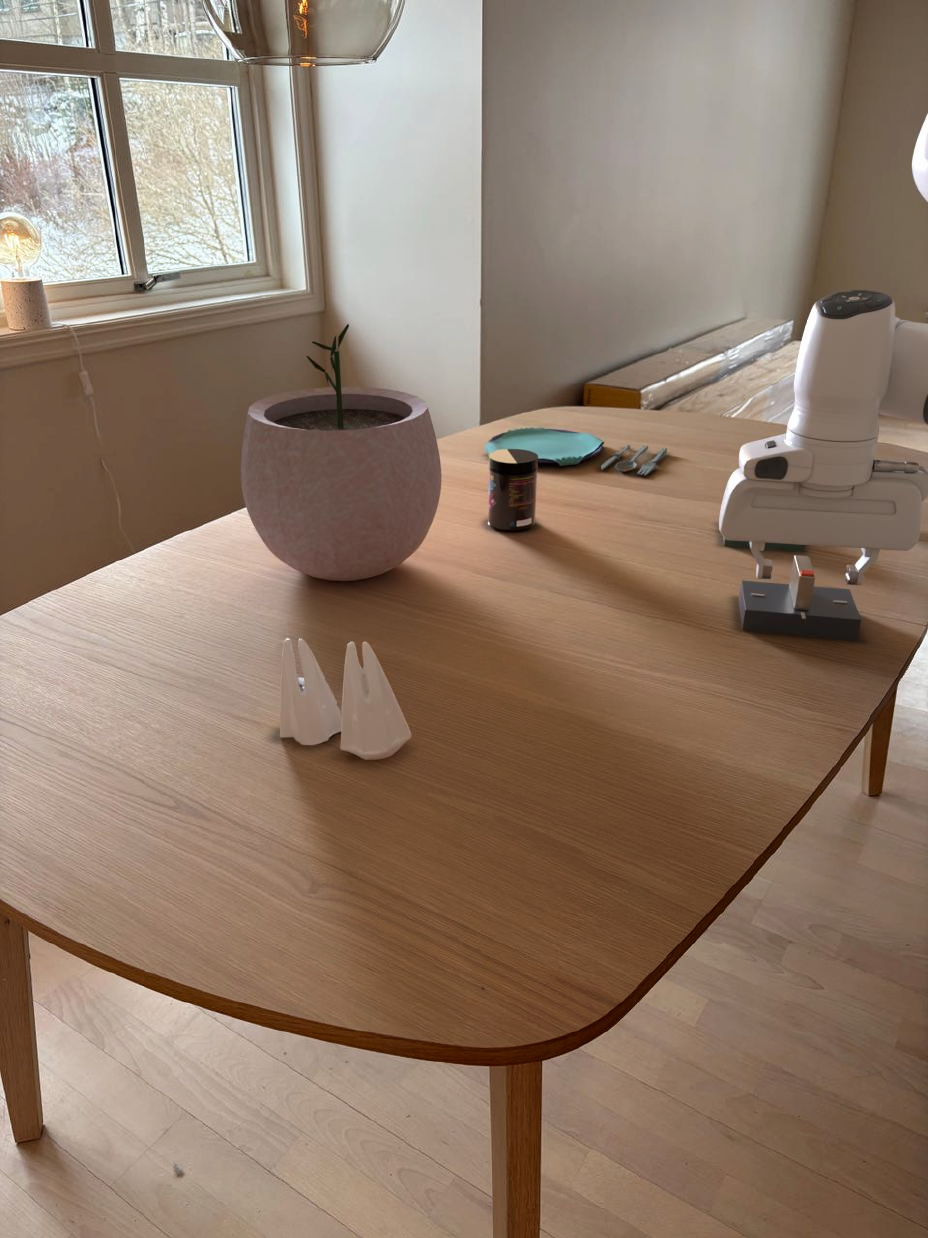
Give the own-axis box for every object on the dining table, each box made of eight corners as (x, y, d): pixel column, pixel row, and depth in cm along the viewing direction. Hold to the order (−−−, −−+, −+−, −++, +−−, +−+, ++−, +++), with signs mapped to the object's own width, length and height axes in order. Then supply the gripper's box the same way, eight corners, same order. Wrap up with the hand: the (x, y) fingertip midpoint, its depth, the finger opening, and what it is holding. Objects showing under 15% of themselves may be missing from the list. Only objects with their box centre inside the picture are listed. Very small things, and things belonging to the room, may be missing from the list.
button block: (795, 533, 132) (799, 506, 130) (801, 555, 125) (806, 526, 123) (721, 527, 134) (724, 501, 132) (723, 549, 127) (727, 520, 125)
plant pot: (329, 523, 135) (315, 303, 122) (476, 556, 124) (478, 319, 111) (210, 583, 116) (178, 331, 103) (370, 628, 106) (358, 353, 92)
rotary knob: (788, 587, 109) (794, 552, 107) (803, 588, 108) (809, 553, 107) (794, 609, 103) (800, 573, 102) (809, 610, 103) (815, 575, 101)
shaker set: (415, 752, 84) (412, 641, 79) (391, 777, 81) (387, 663, 76) (303, 719, 89) (294, 613, 84) (276, 741, 86) (265, 632, 81)
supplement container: (514, 515, 138) (516, 445, 134) (545, 529, 133) (548, 457, 129) (477, 525, 134) (478, 454, 130) (508, 540, 130) (510, 466, 125)
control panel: (843, 608, 111) (848, 583, 109) (857, 649, 102) (863, 622, 100) (737, 599, 113) (740, 575, 111) (742, 638, 104) (746, 612, 103)
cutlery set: (514, 433, 178) (515, 421, 177) (672, 454, 166) (674, 441, 165) (468, 461, 162) (468, 448, 161) (639, 487, 150) (641, 473, 149)
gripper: (927, 453, 99) (901, 575, 105) (726, 445, 103) (712, 562, 109) (942, 472, 94) (914, 599, 100) (729, 462, 97) (714, 585, 103)
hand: (807, 580), depth 104 cm, fingers open, 8 cm apart
